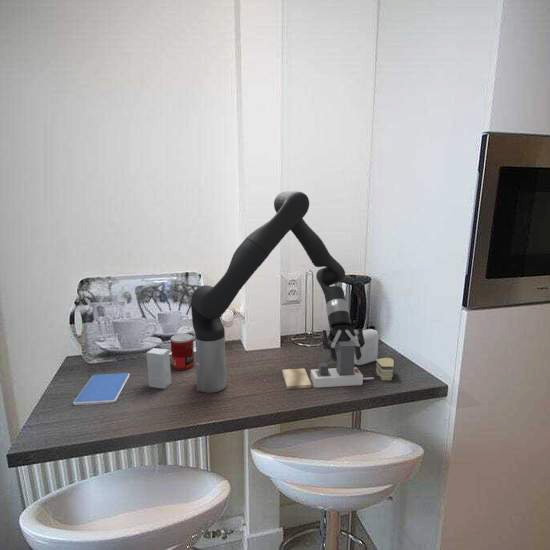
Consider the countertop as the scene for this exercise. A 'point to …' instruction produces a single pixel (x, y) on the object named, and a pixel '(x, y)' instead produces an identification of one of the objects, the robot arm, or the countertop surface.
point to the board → (296, 378)
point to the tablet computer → (102, 389)
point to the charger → (345, 357)
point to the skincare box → (159, 368)
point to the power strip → (335, 377)
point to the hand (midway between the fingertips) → (347, 359)
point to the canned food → (182, 351)
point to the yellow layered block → (385, 368)
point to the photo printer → (368, 347)
